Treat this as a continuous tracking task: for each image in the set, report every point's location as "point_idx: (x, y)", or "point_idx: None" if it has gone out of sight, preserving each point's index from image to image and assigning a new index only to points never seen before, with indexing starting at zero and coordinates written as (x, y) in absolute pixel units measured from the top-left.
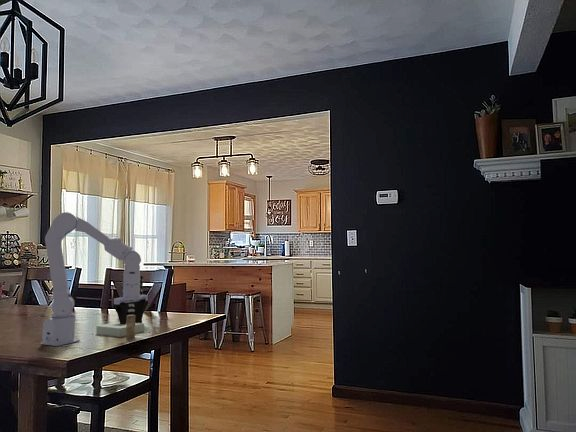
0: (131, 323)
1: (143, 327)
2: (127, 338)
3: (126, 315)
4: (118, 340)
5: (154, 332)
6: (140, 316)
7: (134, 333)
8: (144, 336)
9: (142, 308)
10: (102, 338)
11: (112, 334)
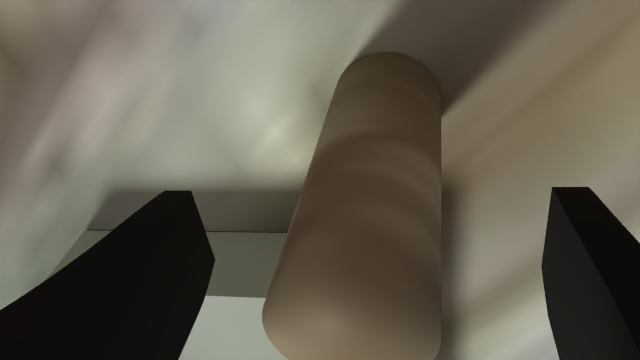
0: (406, 179)
1: (68, 258)
2: (440, 100)
3: (627, 300)
4: (574, 113)
5: (20, 114)
6: (153, 247)
7: (360, 82)
8: (219, 32)
9: (33, 358)
10: (539, 309)
11: None
